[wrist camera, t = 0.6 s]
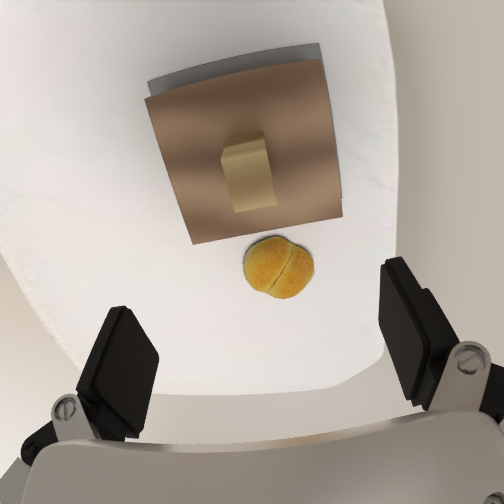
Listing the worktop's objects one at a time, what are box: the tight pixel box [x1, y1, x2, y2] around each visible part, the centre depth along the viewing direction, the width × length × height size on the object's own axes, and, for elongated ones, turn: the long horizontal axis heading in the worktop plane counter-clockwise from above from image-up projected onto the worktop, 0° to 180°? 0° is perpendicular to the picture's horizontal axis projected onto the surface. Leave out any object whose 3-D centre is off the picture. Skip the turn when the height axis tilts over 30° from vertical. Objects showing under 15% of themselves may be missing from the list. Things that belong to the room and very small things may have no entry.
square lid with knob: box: [145, 59, 343, 245], centre depth 26 cm, size 15×15×13 cm
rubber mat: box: [147, 43, 342, 199], centre depth 32 cm, size 18×18×1 cm
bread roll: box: [243, 237, 315, 299], centre depth 40 cm, size 8×9×4 cm
